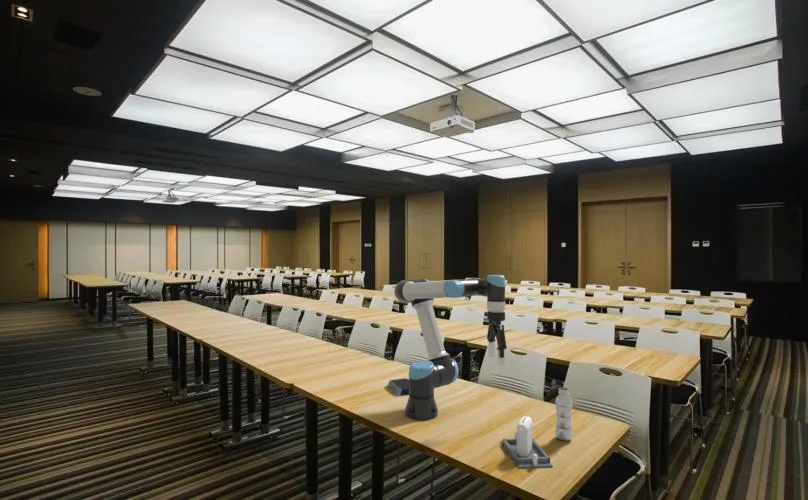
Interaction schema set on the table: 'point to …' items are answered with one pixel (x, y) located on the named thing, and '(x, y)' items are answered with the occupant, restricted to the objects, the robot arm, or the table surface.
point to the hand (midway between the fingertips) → (496, 361)
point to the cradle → (533, 460)
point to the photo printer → (524, 436)
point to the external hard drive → (399, 386)
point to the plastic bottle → (563, 415)
